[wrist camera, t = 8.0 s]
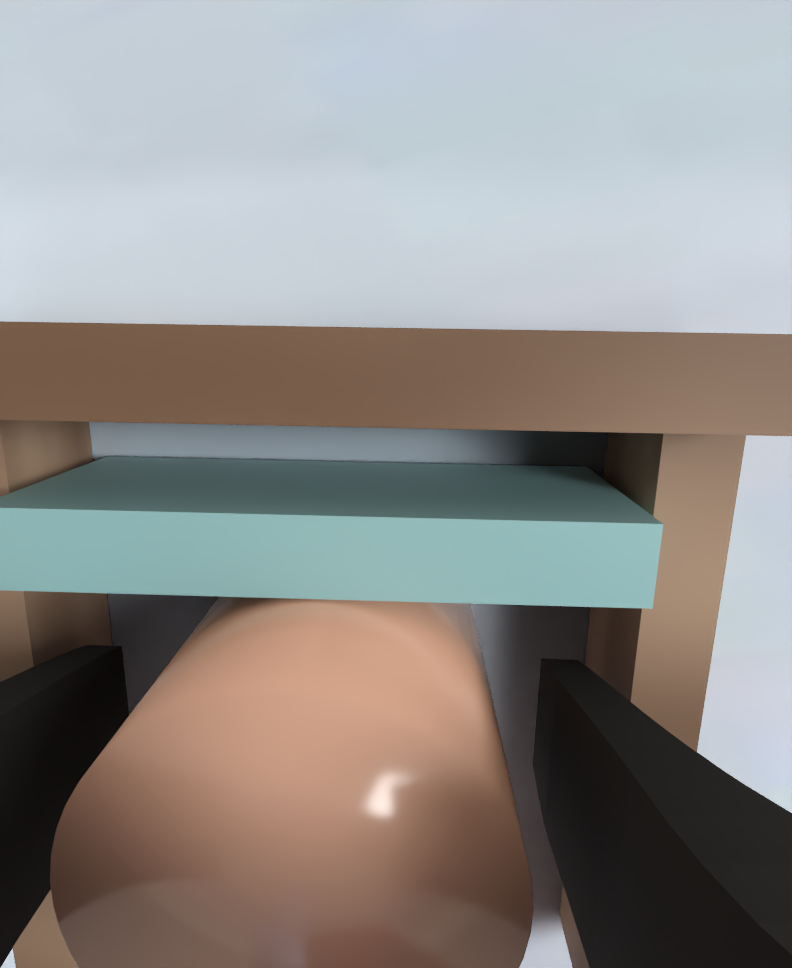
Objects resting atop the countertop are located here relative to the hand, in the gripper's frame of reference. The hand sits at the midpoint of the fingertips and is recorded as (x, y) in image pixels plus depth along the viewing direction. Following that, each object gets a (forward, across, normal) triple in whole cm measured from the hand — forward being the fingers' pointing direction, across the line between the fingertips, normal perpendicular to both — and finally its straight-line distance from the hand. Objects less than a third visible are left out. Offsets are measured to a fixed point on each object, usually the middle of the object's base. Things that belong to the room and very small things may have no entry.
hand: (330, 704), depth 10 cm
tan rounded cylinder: (+2, 0, 0) cm, 3 cm away
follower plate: (+2, 0, -3) cm, 4 cm away
